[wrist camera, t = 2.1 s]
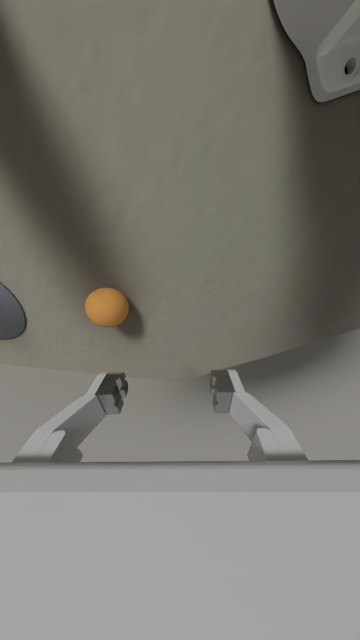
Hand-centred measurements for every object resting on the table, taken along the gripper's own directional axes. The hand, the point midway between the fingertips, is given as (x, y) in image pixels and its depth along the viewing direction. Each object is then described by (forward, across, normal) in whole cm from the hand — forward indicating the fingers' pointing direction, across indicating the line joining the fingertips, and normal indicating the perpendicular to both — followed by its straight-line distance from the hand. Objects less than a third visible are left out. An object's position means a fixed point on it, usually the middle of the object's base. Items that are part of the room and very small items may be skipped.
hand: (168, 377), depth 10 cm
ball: (+12, +9, 0) cm, 16 cm away
